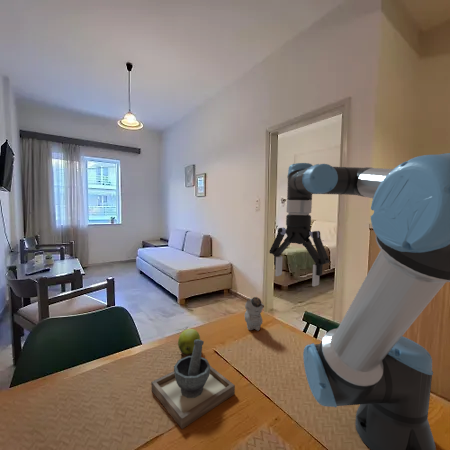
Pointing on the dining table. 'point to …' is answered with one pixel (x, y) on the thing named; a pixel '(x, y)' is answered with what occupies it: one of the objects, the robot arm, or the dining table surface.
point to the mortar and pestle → (192, 372)
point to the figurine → (253, 313)
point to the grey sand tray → (192, 407)
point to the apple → (188, 340)
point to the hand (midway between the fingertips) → (295, 280)
